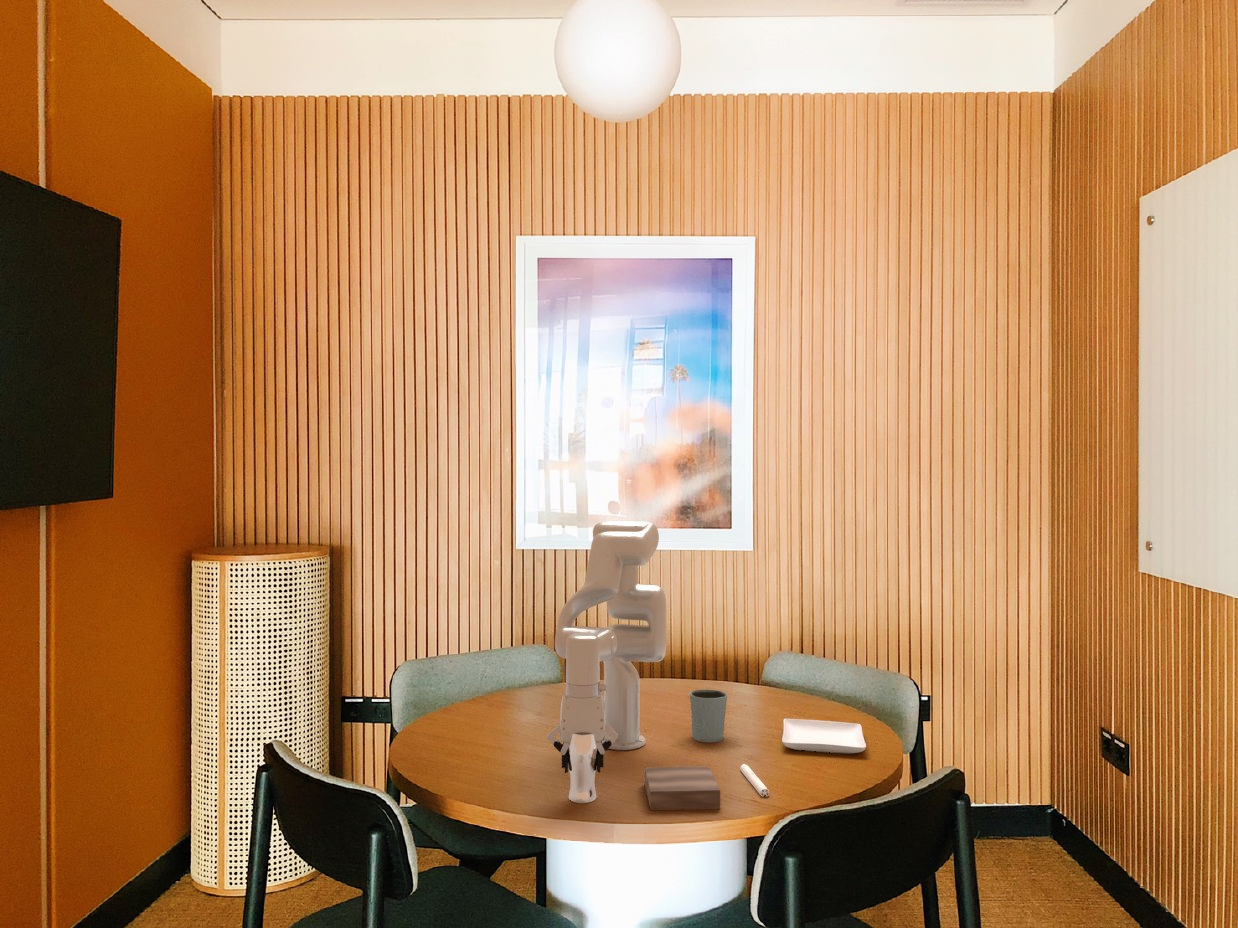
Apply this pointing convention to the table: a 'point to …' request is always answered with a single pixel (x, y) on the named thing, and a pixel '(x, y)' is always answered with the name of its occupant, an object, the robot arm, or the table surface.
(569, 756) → the beer glass
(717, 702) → the grey green cup
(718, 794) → the walnut plinth
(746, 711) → the table surface
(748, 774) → the marker
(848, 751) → the salad plate
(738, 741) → the table surface
